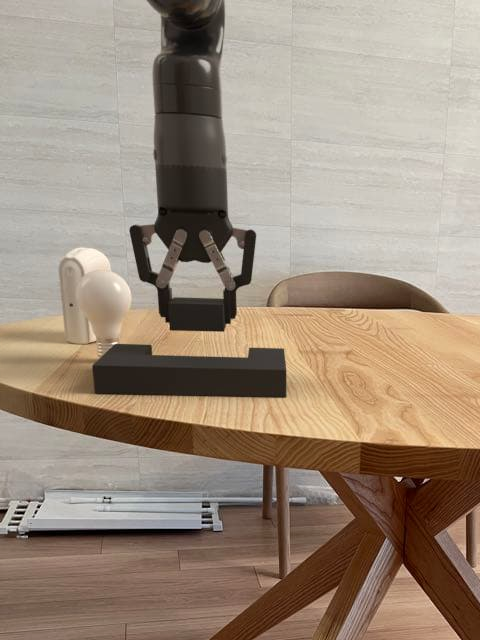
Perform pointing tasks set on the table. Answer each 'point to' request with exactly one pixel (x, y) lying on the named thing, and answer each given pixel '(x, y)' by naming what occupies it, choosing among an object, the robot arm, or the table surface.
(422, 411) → the table surface
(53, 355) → the table surface
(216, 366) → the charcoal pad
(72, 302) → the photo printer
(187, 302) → the black block
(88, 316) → the lightbulb
